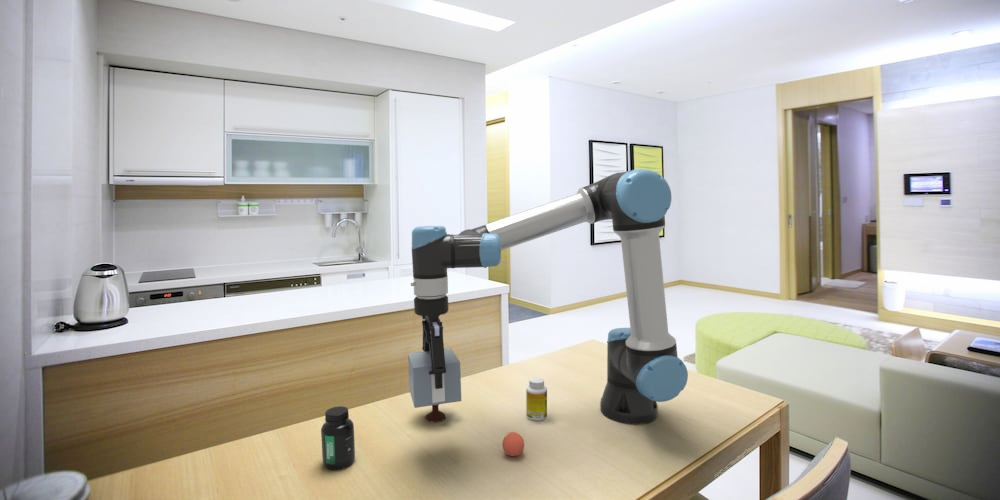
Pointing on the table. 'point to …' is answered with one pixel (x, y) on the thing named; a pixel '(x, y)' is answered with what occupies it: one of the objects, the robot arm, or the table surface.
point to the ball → (513, 444)
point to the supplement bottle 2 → (536, 399)
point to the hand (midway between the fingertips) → (434, 391)
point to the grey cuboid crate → (422, 380)
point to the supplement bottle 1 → (337, 439)
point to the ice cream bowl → (435, 415)
